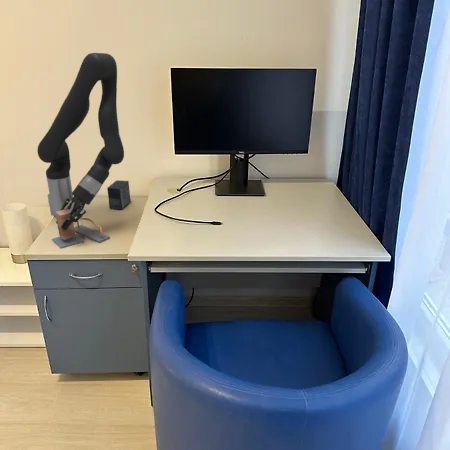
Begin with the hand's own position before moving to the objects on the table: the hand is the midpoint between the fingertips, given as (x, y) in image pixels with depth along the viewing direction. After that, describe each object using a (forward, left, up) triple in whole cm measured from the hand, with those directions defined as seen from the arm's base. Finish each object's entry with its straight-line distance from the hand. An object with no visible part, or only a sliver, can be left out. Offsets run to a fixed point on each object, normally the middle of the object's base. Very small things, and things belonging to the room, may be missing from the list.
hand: (60, 226), depth 160 cm
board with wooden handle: (+7, +8, -7) cm, 13 cm away
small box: (+7, +39, -7) cm, 40 cm away
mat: (+1, +1, -7) cm, 7 cm away
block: (+1, +1, -5) cm, 5 cm away
